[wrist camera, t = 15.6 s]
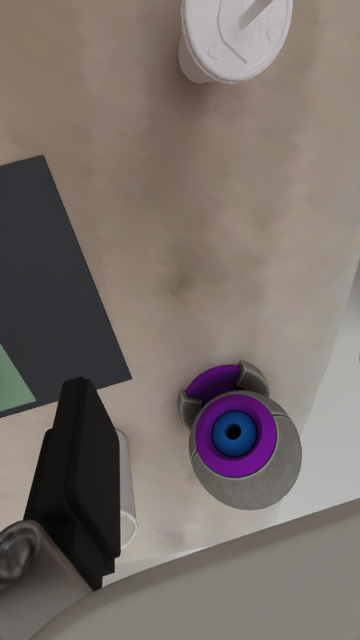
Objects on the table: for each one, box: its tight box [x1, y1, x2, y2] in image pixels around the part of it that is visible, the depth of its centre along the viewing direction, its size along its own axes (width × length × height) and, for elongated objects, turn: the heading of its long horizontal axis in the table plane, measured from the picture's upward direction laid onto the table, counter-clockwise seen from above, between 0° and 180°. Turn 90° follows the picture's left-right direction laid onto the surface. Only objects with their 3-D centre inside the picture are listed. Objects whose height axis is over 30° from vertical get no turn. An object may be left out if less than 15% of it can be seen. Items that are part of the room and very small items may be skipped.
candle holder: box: [115, 429, 138, 550], centre depth 39 cm, size 10×10×12 cm
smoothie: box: [178, 0, 293, 84], centre depth 20 cm, size 6×6×14 cm
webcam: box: [178, 361, 302, 510], centre depth 38 cm, size 13×13×15 cm
